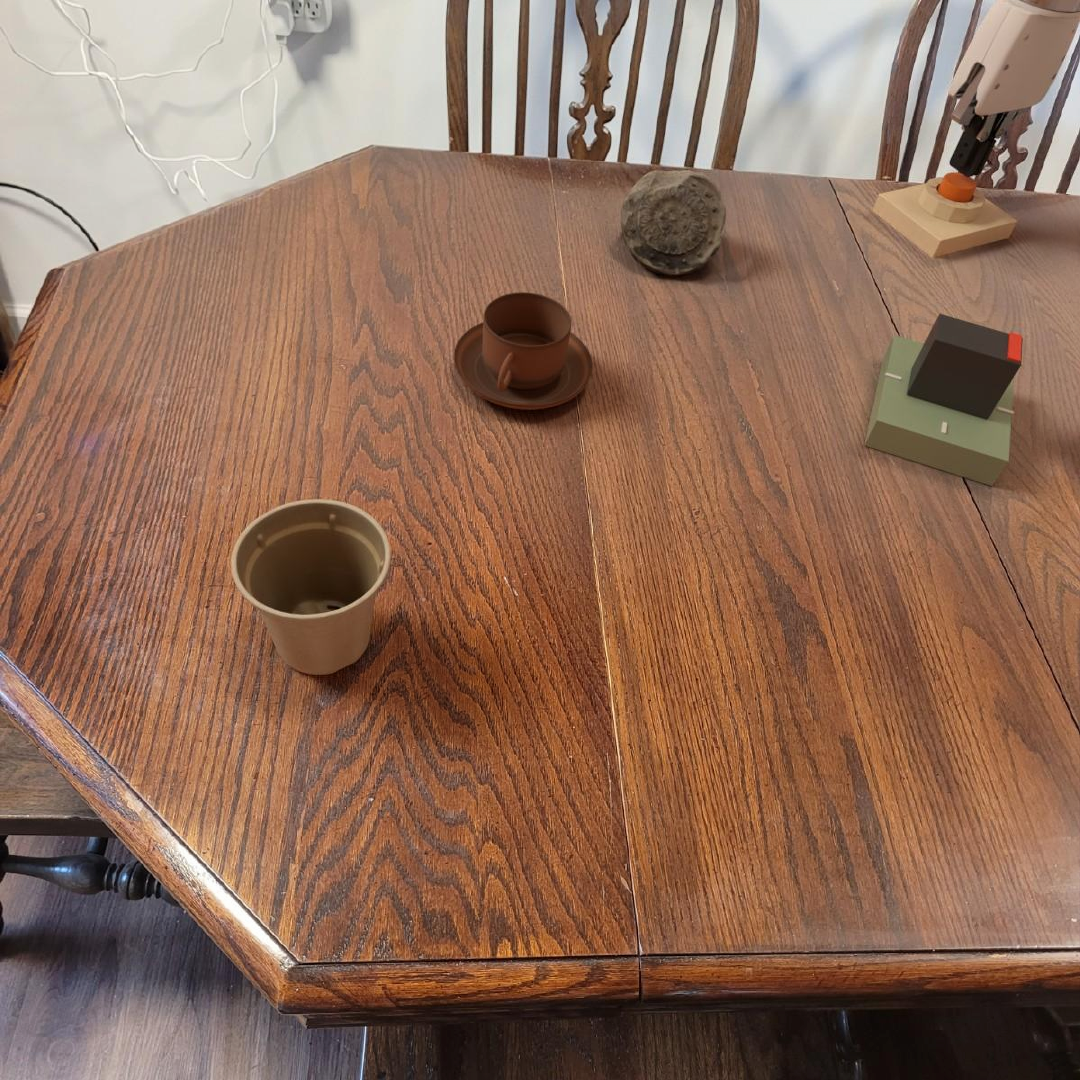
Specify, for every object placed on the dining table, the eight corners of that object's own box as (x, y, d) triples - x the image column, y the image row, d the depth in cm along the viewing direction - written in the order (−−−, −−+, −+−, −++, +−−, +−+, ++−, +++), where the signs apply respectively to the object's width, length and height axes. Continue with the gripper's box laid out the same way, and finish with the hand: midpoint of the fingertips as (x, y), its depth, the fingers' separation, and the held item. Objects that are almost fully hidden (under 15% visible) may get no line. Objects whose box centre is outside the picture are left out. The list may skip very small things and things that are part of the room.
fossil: (635, 283, 92) (632, 174, 89) (604, 273, 101) (599, 173, 97) (736, 271, 95) (737, 164, 91) (697, 262, 103) (696, 164, 99)
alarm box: (946, 194, 112) (961, 162, 109) (1008, 238, 107) (1025, 206, 104) (871, 211, 108) (884, 178, 105) (932, 258, 102) (948, 225, 99)
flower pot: (247, 590, 65) (228, 506, 58) (384, 573, 67) (380, 490, 61) (253, 707, 59) (232, 628, 53) (402, 685, 61) (401, 607, 55)
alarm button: (953, 184, 106) (960, 169, 105) (976, 200, 104) (984, 185, 103) (930, 189, 105) (937, 175, 103) (953, 206, 103) (960, 191, 101)
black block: (906, 394, 81) (936, 336, 77) (911, 368, 84) (940, 310, 79) (987, 420, 80) (1023, 362, 76) (990, 392, 83) (1024, 335, 78)
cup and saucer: (592, 427, 79) (602, 370, 75) (449, 417, 78) (451, 358, 74) (586, 338, 87) (596, 281, 82) (457, 328, 86) (459, 270, 81)
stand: (881, 359, 89) (894, 333, 87) (1000, 395, 88) (1016, 369, 85) (862, 445, 81) (876, 418, 79) (993, 486, 79) (1011, 460, 77)
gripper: (1072, -35, 93) (986, 143, 107) (966, -24, 87) (889, 163, 101) (1134, -5, 89) (1036, 176, 103) (1026, 9, 83) (938, 199, 97)
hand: (963, 169), depth 102 cm, fingers closed
